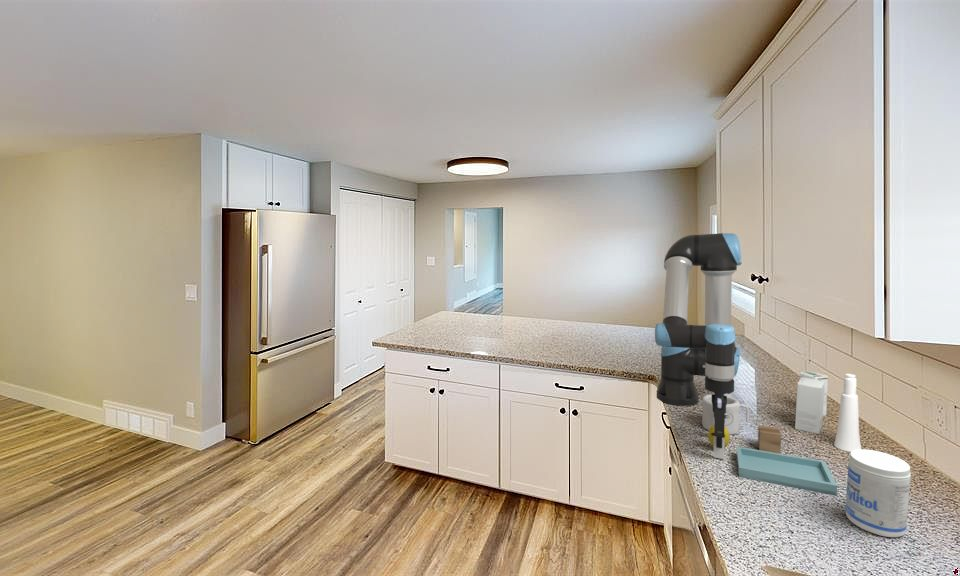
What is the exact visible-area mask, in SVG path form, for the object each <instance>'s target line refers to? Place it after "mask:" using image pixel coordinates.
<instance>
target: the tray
mask: <svg viewBox="0 0 960 576" xmlns="http://www.w3.org/2000/svg"><path fill="white" fill-rule="evenodd" d="M736 462H737V471H738V477H739V478H744V479H748V480H755V481H758V482H759V481H760V482H765V483H770V484H775V485H779V486H785V487H789V488H796V489H799V490H801V489H802V490H806V491H811V492H815V493H821V494H826V495H831V496H838V484H837V482H836V481H835V479H834V477H833V474H832V472H831V470H830V468H829V466H828V465H827V462H826V461H825V460H821V459H817V458H816V459H814V458H809V457H803V456H797V455H789V454H784V453H781V454H779V453H773V452H767V451H761V450H759V449H754V448H748V447H743V446H736Z"/></svg>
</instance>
